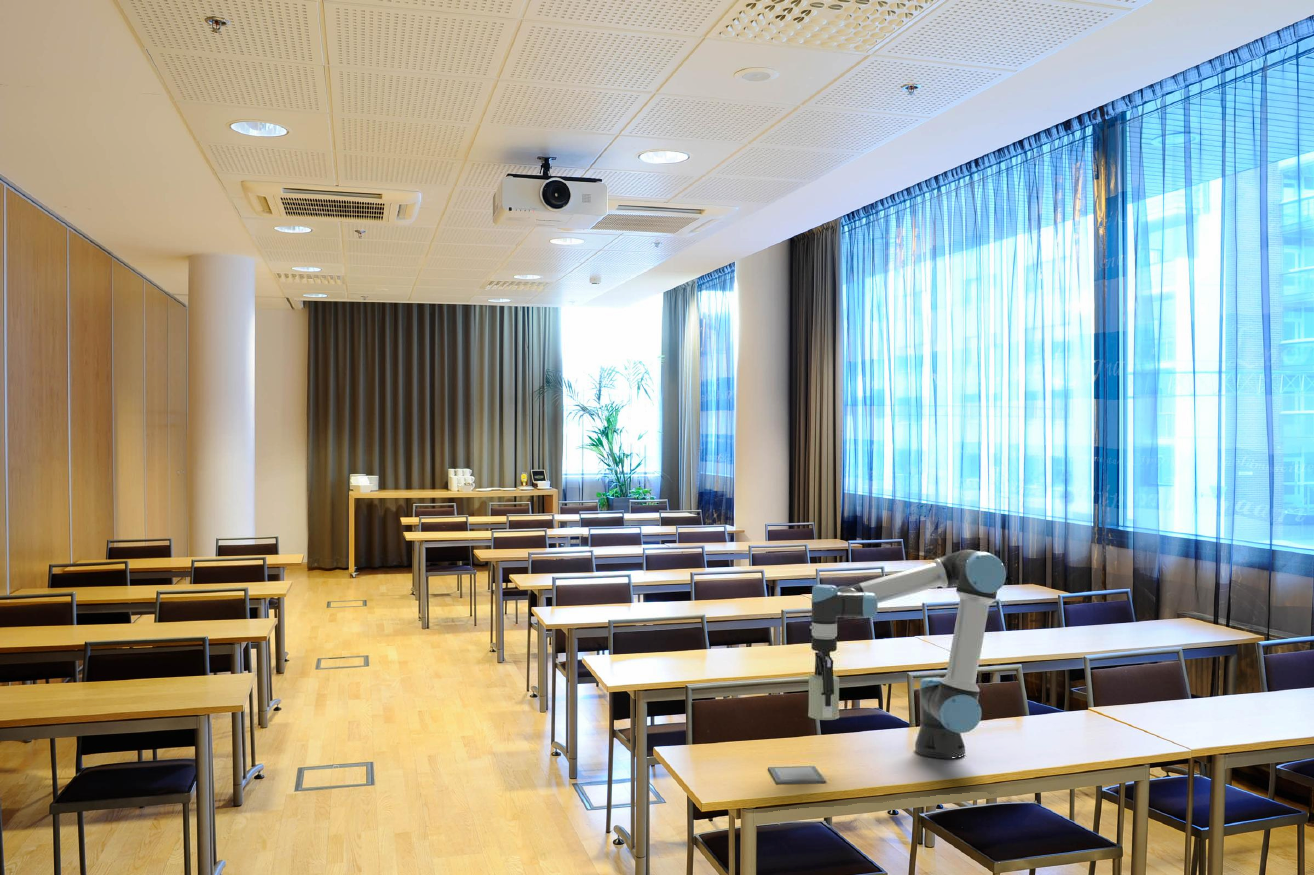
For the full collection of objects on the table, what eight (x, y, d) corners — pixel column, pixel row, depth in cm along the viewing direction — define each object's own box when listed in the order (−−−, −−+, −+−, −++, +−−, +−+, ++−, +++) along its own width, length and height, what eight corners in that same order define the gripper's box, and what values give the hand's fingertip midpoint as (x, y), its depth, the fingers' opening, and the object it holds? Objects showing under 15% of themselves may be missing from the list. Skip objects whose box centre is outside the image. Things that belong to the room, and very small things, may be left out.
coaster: (814, 768, 280) (814, 765, 280) (825, 782, 266) (825, 780, 266) (768, 769, 280) (768, 766, 280) (776, 784, 266) (776, 781, 266)
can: (823, 721, 275) (823, 680, 275) (801, 715, 282) (801, 674, 283) (845, 717, 280) (846, 676, 281) (823, 711, 288) (823, 671, 288)
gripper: (804, 631, 293) (804, 704, 292) (819, 643, 271) (818, 722, 270) (828, 631, 293) (828, 704, 292) (845, 643, 272) (844, 722, 271)
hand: (823, 712), depth 281 cm, fingers closed on can, 9 cm apart
